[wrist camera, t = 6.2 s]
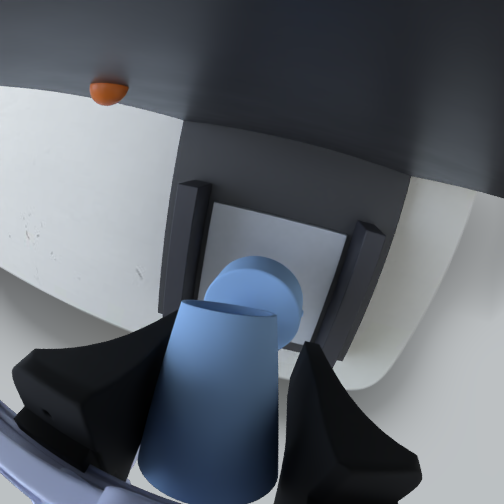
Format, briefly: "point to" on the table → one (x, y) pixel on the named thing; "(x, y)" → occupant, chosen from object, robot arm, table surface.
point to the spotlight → (223, 388)
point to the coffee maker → (285, 124)
